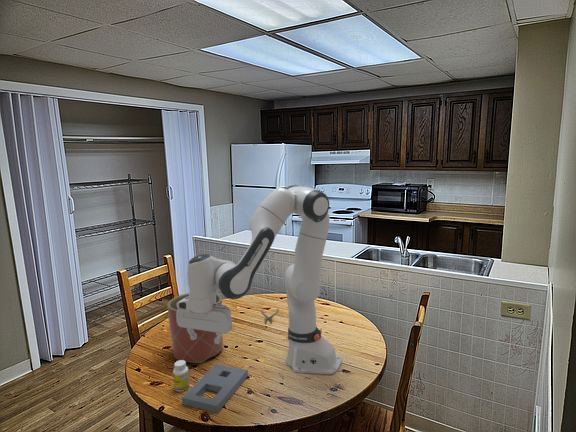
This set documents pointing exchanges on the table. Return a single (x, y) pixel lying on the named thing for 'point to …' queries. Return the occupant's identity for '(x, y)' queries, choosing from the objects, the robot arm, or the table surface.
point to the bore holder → (215, 387)
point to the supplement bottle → (181, 376)
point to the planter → (182, 342)
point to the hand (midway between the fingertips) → (205, 341)
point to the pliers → (269, 317)
